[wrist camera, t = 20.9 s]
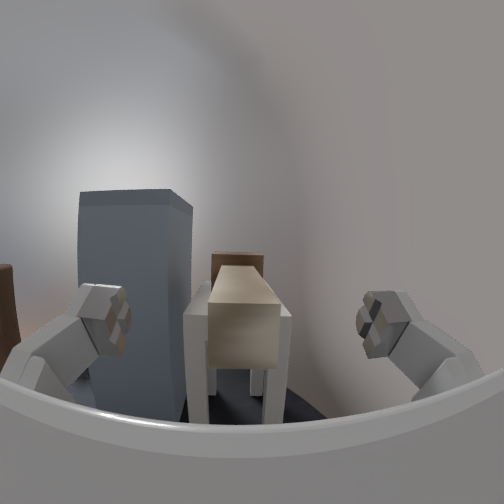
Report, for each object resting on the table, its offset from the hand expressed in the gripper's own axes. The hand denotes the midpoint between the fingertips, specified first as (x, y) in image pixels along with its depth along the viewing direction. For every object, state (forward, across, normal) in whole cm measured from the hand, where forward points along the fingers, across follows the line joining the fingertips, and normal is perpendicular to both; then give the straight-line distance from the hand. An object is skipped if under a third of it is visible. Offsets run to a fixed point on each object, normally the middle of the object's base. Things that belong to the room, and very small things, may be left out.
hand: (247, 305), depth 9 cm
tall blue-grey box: (+12, +11, +29) cm, 34 cm away
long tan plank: (+9, 0, +9) cm, 13 cm away
